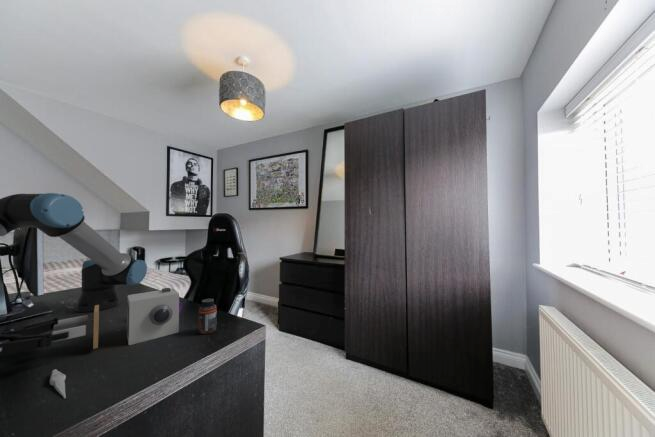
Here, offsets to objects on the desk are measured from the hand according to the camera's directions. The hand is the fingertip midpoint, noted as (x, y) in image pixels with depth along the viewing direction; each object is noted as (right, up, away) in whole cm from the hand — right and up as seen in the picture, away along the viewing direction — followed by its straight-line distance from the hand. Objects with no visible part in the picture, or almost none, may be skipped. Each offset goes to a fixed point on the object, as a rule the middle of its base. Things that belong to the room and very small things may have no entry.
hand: (86, 324), depth 75 cm
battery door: (-2, -6, -2) cm, 7 cm away
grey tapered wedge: (+10, -8, -17) cm, 21 cm away
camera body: (+13, -8, +10) cm, 19 cm away
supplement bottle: (+31, -8, +13) cm, 35 cm away
